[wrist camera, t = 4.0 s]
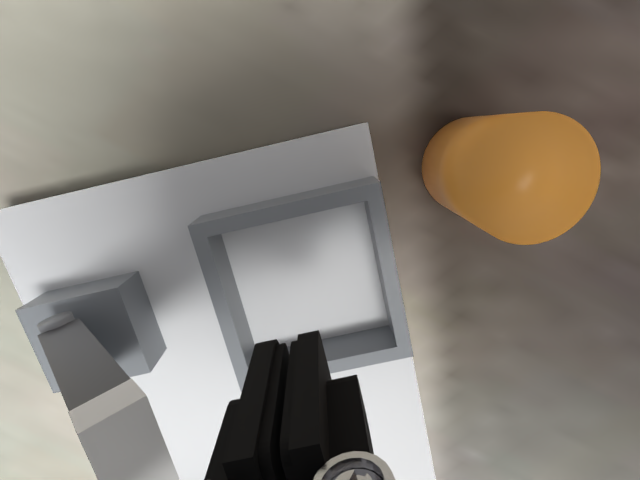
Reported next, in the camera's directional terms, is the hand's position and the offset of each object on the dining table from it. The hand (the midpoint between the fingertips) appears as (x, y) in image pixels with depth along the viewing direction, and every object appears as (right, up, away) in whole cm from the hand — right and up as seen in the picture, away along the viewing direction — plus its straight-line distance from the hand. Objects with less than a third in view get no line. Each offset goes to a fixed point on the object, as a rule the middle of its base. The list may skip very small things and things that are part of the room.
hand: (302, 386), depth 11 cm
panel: (-3, -3, +11) cm, 12 cm away
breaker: (-9, -1, +6) cm, 11 cm away
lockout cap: (+7, +7, +9) cm, 14 cm away
